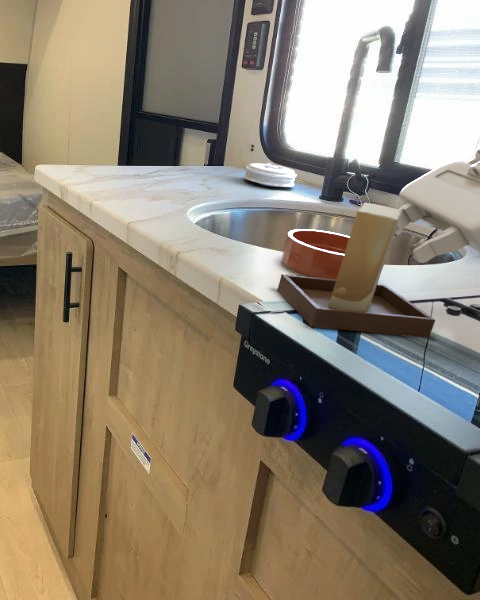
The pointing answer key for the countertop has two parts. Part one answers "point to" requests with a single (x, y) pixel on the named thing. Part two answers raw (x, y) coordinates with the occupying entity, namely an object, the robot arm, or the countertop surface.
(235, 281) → the countertop surface
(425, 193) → the robot arm
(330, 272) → the bowl
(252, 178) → the lid
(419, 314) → the tray
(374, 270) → the cosmetic box
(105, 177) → the countertop surface
